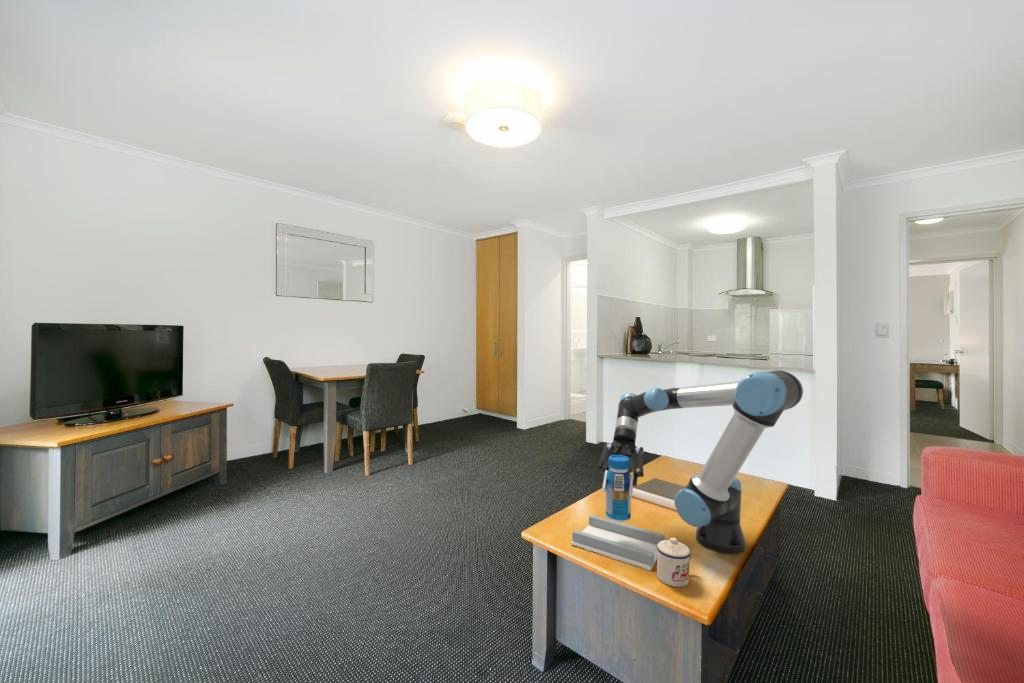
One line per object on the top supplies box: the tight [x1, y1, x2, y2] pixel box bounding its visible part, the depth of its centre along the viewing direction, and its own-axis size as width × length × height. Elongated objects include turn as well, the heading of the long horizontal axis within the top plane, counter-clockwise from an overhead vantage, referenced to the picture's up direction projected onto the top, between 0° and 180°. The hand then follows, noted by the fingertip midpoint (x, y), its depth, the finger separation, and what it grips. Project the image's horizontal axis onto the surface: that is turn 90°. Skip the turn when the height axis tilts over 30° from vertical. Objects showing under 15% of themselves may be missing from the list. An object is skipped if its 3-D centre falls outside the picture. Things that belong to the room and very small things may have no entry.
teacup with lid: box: [656, 537, 692, 588], centre depth 121 cm, size 12×9×12 cm
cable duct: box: [570, 514, 666, 572], centre depth 139 cm, size 26×18×4 cm
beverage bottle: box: [605, 455, 632, 523], centre depth 139 cm, size 8×8×20 cm
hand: (617, 492), depth 136 cm, fingers closed on beverage bottle, 8 cm apart
